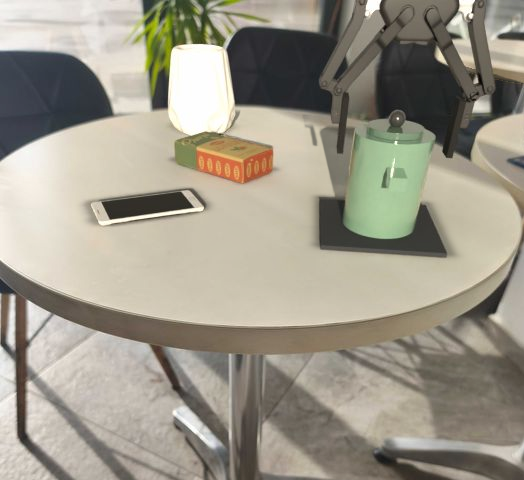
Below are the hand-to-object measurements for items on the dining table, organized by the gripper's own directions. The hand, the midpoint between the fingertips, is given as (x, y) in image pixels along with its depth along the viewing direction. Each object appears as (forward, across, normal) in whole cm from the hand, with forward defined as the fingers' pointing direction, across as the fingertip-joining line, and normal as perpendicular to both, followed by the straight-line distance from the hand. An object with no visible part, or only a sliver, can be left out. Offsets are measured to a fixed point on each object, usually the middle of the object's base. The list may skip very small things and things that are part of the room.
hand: (393, 153), depth 63 cm
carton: (+10, +25, -21) cm, 34 cm away
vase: (+10, +34, -45) cm, 57 cm away
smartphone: (+10, +33, -1) cm, 35 cm away
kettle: (+10, 0, 0) cm, 10 cm away
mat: (+10, 0, 0) cm, 10 cm away
